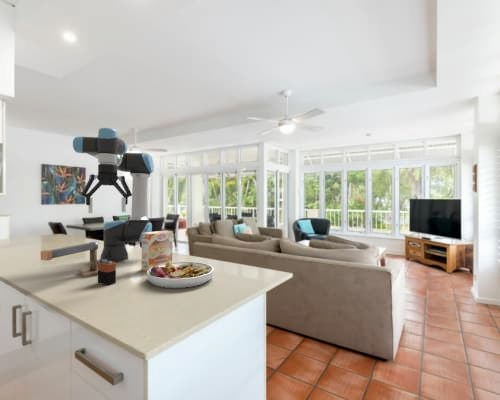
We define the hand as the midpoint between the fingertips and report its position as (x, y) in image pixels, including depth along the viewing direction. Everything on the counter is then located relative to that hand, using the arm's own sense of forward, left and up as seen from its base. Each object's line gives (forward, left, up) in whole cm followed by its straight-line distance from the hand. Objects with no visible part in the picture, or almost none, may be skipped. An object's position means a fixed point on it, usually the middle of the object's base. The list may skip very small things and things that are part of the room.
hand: (107, 212), depth 122 cm
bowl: (-27, +17, -32) cm, 45 cm away
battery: (0, 0, -31) cm, 31 cm away
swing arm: (+10, -14, -19) cm, 26 cm away
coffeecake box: (-28, -9, -31) cm, 43 cm away
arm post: (0, -20, -31) cm, 37 cm away
